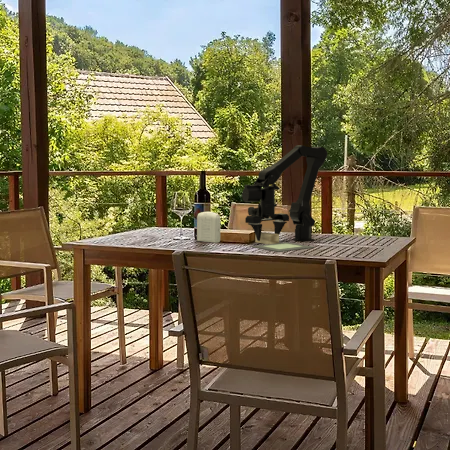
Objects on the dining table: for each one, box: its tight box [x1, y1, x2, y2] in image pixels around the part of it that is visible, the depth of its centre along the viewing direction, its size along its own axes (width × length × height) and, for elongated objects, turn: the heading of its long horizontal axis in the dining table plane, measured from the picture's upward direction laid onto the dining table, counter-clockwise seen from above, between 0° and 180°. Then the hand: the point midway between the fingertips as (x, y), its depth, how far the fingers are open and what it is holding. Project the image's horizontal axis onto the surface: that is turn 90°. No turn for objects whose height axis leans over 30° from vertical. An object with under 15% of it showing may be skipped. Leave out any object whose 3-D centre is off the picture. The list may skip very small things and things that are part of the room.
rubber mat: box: [251, 241, 315, 253], centre depth 269 cm, size 18×16×1 cm
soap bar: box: [196, 211, 221, 244], centre depth 285 cm, size 10×4×12 cm, turn 56°
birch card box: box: [254, 231, 280, 245], centre depth 282 cm, size 5×9×4 cm, turn 36°
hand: (267, 239), depth 282 cm, fingers open, 9 cm apart
